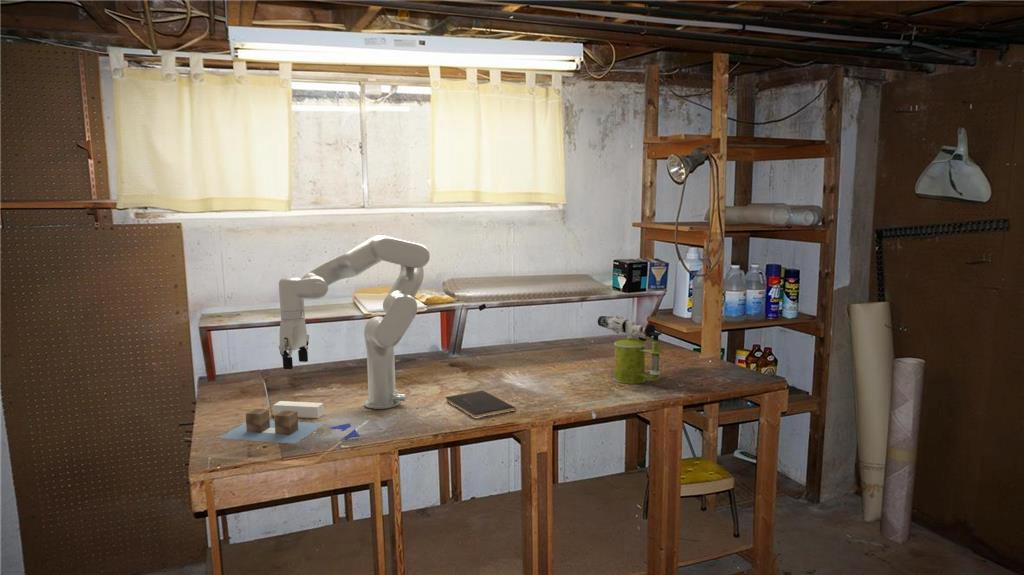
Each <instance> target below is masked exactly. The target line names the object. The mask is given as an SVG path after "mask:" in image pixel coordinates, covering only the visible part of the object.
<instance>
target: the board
mask: <svg viewBox="0 0 1024 575" xmlns="http://www.w3.org/2000/svg"><path fill="white" fill-rule="evenodd" d="M323 425H325V423H318V422H317V423H316V422H303V421H301V422H300V421H298V430H297V431H295V432H294V433H292V434H291V435H282V434H275V419H274V420H272V419H270V428H268V429H267V430H265V431H263V432H262V433H255V432H247V427H246V422H244V423H242V424H241V425H240V426H237V427H235V428H233V429H231V430H230V431H228V432H227V433H225V434H223V435H221V436H219V437H218V439H224V440H236V441H237V440H239V441H251V442H264V443H276V444H277V443H278V444H289V445H295V444H297V443H298V442H301V440H303V439H304V438H306V437H307V436H309V435H310V434H312V433H313V432H315V431H316V430H317V429H319V428H321V427H322V426H323Z"/></svg>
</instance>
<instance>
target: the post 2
mask: <svg viewBox="0 0 1024 575" xmlns="http://www.w3.org/2000/svg"><path fill="white" fill-rule="evenodd" d="M273 417H274V420H275V434H282V435H291V434H292V433H294V432H295V431H297V430H298V422H299V417H298V414H297V411H285V410H283V411H281V412H279V413H278V414H276V415H274V414H273Z"/></svg>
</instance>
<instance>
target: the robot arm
mask: <svg viewBox="0 0 1024 575" xmlns="http://www.w3.org/2000/svg"><path fill="white" fill-rule="evenodd" d="M430 256H431V255H430V251H429V249H428V248H427V247H426V246H425V245H423V244H422V243H418V242H417V243H416V242H411V241H409V240H408V241H407V240H403V239H398V238H395V237H392V236H387V235H382V234H381V235H380V234H379V235H375V236H373V237H370V238H369V239H367V240H366V241H364V242H363V243H361V244H359V245H358V246H355V247H354V248H353V249H350V250H349V251H347V252H346V253H344V254H342V255H339V256H337V257H336V258H333V259H331V260H329V261H327V262H325V263H323V264H321V265H320V266H318V267H316V268H314V269H312V270H311V271H309V272H307V273H306V274H305V275H303V276H302V277H293V276H291V277H283V278H281V279H280V280H279V281H278V294H279V309H280V323H279V345H278V350H279V354H280V355H281V356H280V357H281V358H282V367H283V369H284V370H293V369H294V365H293V356H292V353H293V351H295V350H297V353H298V355H297V356H298V362H300V363H301V362H302V363H307V362H308V361H309V354H308V350H309V340H310V335H309V334H307V325H306V319H305V318H306V316H305V315H306V314H305V300H306V299H307V300H309V299H311V300H317V299H322V298H323V297H326V295H327V294H328V292H329V286H331V285H332V284H334V283H336V282H338V281H341V280H343V279H349V278H354V277H356V276H357V277H358V276H359V275H360V274H363V273H364V272H366V271H367V270H369V269H370V268H372V267H374V266H376V265H377V264H378V263H380V262H382V261H384V262H386V263H390V264H395V265H400V272H399V274H398V277H397V279H396V280H395V282H394V284H393V286H392V287H391V288H390V290H389V292H388V293H387V295H386V296H385V298H384V299H383V302H382V309H383V310H384V313H385V315H383V316H373V317H372V318H370V319H368V321H367V322H366V324H365V326H364V332H363V333H364V334H363V335H364V342H365V348H366V366H367V385H368V386H367V388H368V389H367V390H368V398H367V399H366V400H364V406H365V407H366V408H368V409H372V408H373V410H374V409H375V410H383V409H385V410H386V409H390V408H395V407H397V406H399V405H400V404H401V402H406V401H407V395H406V394H400V393H399V390H398V389H396V371H395V369H396V367H395V361H396V360H395V348H394V347H396V346H397V345H398V344H399V343H400V342H401V341H402V339H403V337H404V336H405V334H406V333H407V331H408V329H409V328H410V326H411V325H412V323H413V321H414V319H415V318H416V316H417V312H418V303H417V301H416V299H415V297H416V295H417V294H418V292H419V290H420V288H421V286H422V283H423V280H424V276H425V275H424V274H425V272H424V267H425V266H426V265H428V263H429V261H430Z"/></svg>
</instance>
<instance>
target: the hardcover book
mask: <svg viewBox="0 0 1024 575" xmlns="http://www.w3.org/2000/svg"><path fill="white" fill-rule="evenodd" d="M445 399H446V402H447V401H448V402H450V403H452V404H453V405H455V406H457V407H458V408H460V409H461V410H463V411H465V412H467V413H468V414H470V415H472V416H473V417H479V416H483V415H488V414H493V413H499V412H505V411H511V410H515V411H516V407H515V406H513V405H512V404H510V403H508V402H506V401H504V400H502V399H501V398H499V397H496V396H495V395H492V394H491V393H489V392H488V391H485V390H478V391H472V392H467V393H461V394H455V395H450V396H449V395H448V396H445ZM448 402H447V403H448ZM450 403H449V404H450ZM453 405H452V406H453ZM455 406H454V407H455ZM458 408H457V409H458ZM461 410H460V411H461ZM463 411H462V412H463ZM468 414H467V415H468Z"/></svg>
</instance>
